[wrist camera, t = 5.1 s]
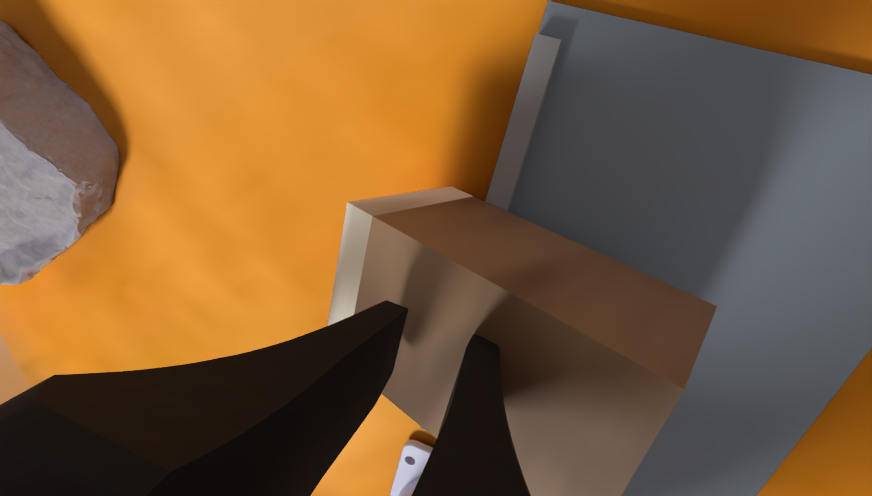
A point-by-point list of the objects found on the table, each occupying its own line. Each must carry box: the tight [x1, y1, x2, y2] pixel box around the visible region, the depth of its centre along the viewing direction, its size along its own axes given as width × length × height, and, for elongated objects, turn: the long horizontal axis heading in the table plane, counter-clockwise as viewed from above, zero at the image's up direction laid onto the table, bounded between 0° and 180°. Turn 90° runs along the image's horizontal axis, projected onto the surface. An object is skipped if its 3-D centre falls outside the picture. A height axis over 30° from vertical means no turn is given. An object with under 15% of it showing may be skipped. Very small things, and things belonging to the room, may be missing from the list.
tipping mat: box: [420, 1, 872, 496], centre depth 16 cm, size 18×13×1 cm
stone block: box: [0, 21, 119, 285], centre depth 22 cm, size 12×5×10 cm
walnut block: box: [328, 186, 717, 496], centre depth 13 cm, size 5×5×9 cm
